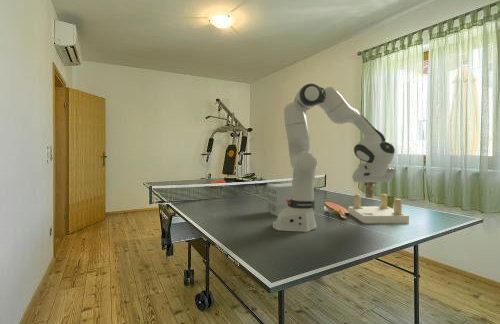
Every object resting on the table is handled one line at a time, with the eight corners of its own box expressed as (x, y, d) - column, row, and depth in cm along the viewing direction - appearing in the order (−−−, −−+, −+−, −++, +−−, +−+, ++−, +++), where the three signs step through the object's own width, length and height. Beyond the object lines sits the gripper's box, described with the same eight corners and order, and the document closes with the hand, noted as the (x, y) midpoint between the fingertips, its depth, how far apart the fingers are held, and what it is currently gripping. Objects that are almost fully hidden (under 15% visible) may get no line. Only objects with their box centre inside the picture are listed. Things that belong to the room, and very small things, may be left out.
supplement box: (291, 209, 182) (291, 182, 181) (301, 214, 169) (302, 185, 168) (267, 212, 176) (267, 183, 175) (276, 216, 163) (276, 186, 162)
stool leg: (367, 197, 149) (367, 177, 149) (364, 196, 153) (364, 176, 152) (373, 197, 149) (373, 177, 149) (370, 196, 153) (371, 176, 152)
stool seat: (363, 223, 148) (364, 200, 147) (348, 212, 172) (348, 193, 171) (408, 223, 148) (409, 200, 147) (387, 212, 172) (387, 193, 171)
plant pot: (396, 212, 174) (396, 198, 173) (380, 211, 177) (380, 197, 176) (394, 208, 183) (394, 195, 182) (378, 208, 186) (378, 195, 185)
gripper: (394, 163, 143) (385, 180, 154) (355, 164, 144) (348, 180, 154) (399, 173, 139) (389, 189, 149) (358, 173, 139) (351, 189, 150)
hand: (368, 185), depth 152 cm, fingers closed on stool leg, 4 cm apart
